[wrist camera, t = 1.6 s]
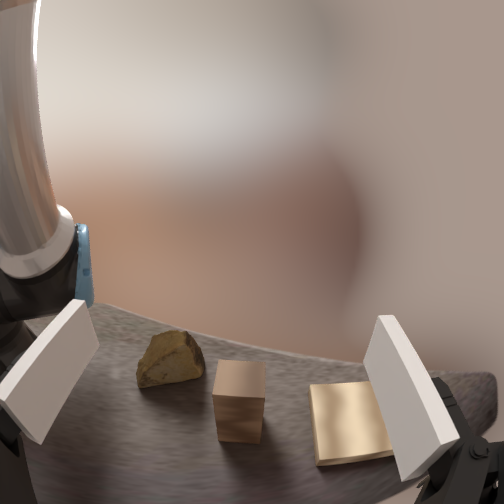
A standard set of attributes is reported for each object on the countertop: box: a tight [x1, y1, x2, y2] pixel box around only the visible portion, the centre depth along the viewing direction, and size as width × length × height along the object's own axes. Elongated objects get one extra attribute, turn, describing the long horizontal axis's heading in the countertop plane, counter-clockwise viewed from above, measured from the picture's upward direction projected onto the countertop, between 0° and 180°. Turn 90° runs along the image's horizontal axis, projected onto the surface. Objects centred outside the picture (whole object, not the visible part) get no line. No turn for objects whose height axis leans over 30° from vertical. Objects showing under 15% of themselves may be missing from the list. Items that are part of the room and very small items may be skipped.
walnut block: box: [212, 359, 265, 444], centre depth 28 cm, size 5×5×10 cm
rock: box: [136, 330, 205, 388], centre depth 37 cm, size 11×9×10 cm
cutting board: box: [308, 381, 394, 466], centre depth 29 cm, size 16×12×2 cm
